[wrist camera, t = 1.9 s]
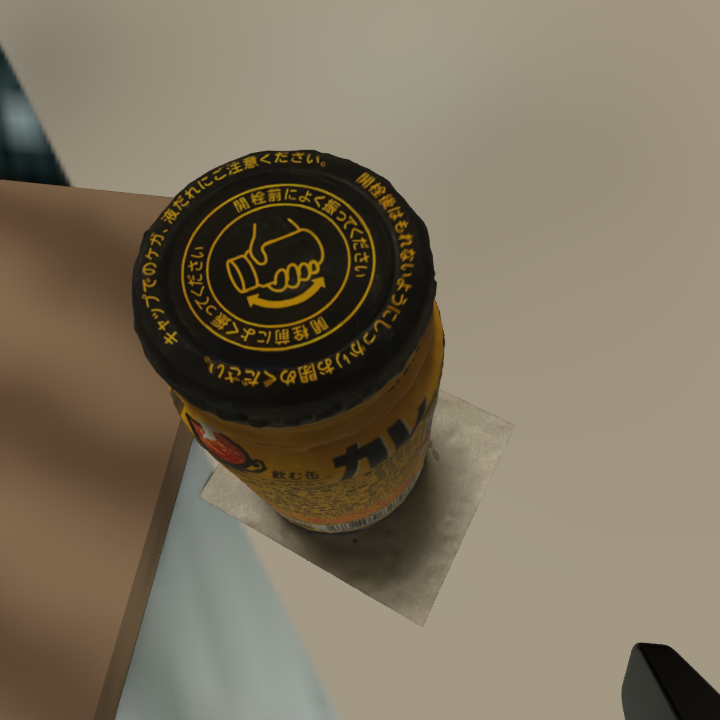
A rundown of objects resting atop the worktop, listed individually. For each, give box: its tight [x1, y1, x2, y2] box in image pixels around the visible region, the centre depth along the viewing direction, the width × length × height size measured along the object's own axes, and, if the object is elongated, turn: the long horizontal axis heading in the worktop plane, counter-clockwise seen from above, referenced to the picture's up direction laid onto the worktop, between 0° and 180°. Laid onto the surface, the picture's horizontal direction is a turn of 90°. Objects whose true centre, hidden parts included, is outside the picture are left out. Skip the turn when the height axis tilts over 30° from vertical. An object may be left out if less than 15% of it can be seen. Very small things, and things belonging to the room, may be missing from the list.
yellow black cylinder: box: [132, 150, 515, 627], centre depth 15 cm, size 7×8×12 cm
